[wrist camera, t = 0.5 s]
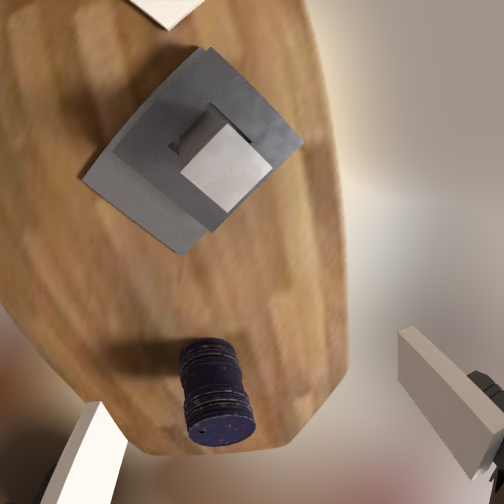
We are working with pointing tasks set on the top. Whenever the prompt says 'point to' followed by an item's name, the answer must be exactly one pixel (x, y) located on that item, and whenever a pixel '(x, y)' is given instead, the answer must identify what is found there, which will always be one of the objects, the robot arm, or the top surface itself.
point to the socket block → (167, 149)
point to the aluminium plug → (220, 161)
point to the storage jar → (214, 394)
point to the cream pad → (167, 10)
